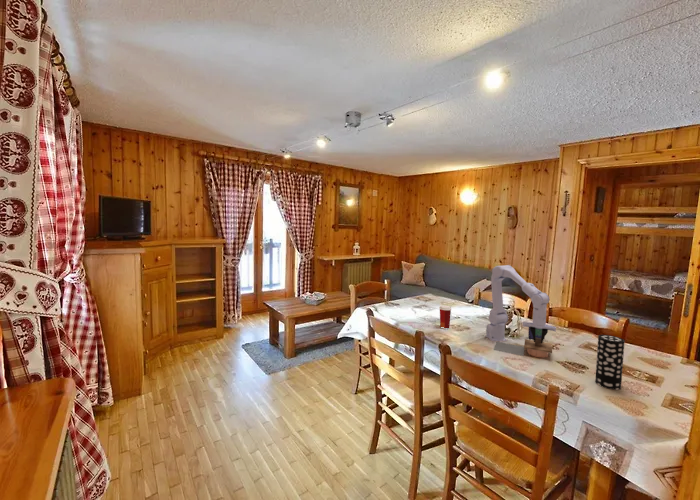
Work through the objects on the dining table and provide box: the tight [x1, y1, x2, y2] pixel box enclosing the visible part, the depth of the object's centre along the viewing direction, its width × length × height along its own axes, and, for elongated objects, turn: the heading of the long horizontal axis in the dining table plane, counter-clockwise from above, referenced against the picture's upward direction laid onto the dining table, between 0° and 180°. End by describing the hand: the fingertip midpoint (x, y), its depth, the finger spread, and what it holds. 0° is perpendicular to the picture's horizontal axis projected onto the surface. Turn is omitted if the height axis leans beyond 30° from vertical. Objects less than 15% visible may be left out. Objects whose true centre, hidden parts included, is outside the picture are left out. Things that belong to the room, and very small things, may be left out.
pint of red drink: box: [438, 304, 452, 329], centre depth 198 cm, size 8×8×14 cm
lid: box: [523, 338, 553, 354], centre depth 157 cm, size 12×12×4 cm
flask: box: [527, 327, 546, 341], centre depth 179 cm, size 9×3×11 cm, turn 88°
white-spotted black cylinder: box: [594, 334, 625, 391], centre depth 127 cm, size 8×8×20 cm
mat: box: [493, 341, 526, 357], centre depth 164 cm, size 14×14×1 cm
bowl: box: [526, 348, 549, 359], centre depth 157 cm, size 9×9×4 cm
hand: (538, 342), depth 157 cm, fingers closed on lid, 2 cm apart
